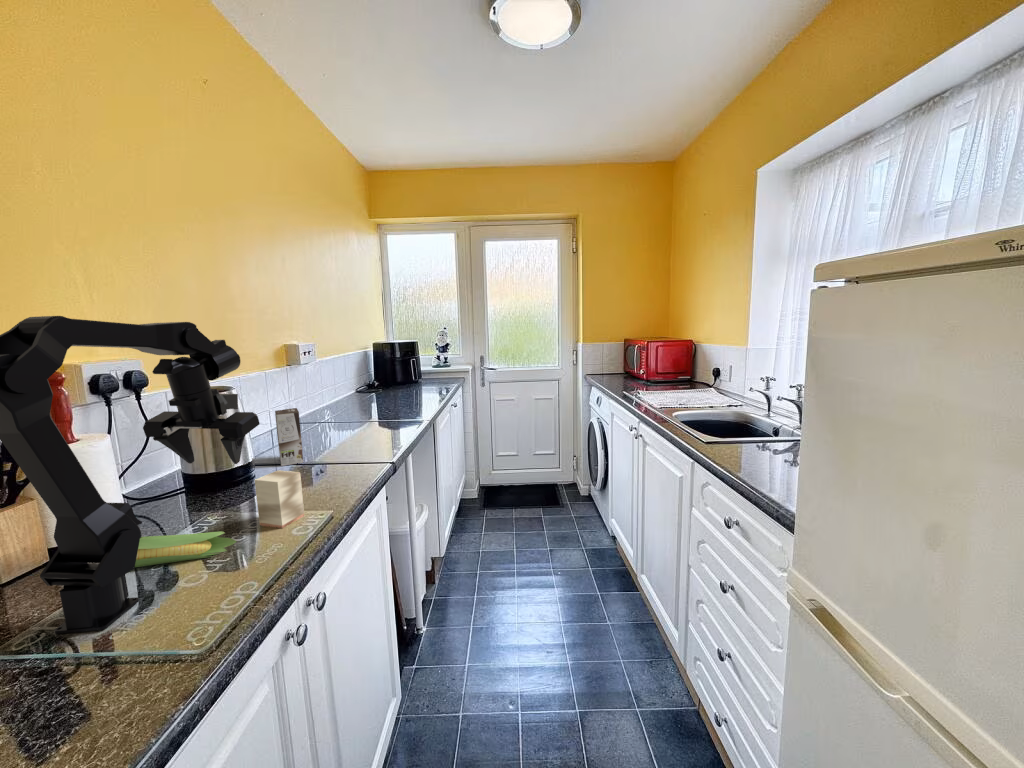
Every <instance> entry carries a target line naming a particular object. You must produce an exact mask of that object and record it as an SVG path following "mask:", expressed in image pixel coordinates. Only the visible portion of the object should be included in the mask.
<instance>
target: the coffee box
mask: <svg viewBox="0 0 1024 768" xmlns="http://www.w3.org/2000/svg"><path fill="white" fill-rule="evenodd" d="M274 413H275V414H274V415H275V425H276V433H277V436H276V437H277V443H278V453H279V459H280V461H279V462H280V466H281V467H285V466H289V465H290V466H291V465H297V463H298V464H303V463H304V454H303V441H302V433H301V431H302V430H301V422H300V421H301V420H300V411H299V410H298V408H297V407H293V408H286V409H279V410H275V411H274Z"/></svg>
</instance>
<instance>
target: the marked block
mask: <svg viewBox="0 0 1024 768" xmlns="http://www.w3.org/2000/svg"><path fill="white" fill-rule="evenodd" d="M301 476H302V475H301V471H290V470H280V469H278V470H275V471H273V472H270V473H268V474H265V475H263V476H261V477H257V478H256V479H254V487H255V496H256V504H257V513H258V514H257V515H258V521H259V526H263V527H269V526H270V528H276V527H278V529H284V528H286V527H287V525H288V526H289V525H291V524H293V523H295V522H297V521H298V520H299V519H302V518H303V517H305V506H304V497H303V489H302V488H303V487H302V486H303V485H302V480H301V479H302V478H301ZM294 521H295V522H294ZM292 522H293V523H292Z"/></svg>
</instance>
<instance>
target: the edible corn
mask: <svg viewBox="0 0 1024 768" xmlns="http://www.w3.org/2000/svg"><path fill="white" fill-rule="evenodd" d="M223 534H226V532H224V531H221V530H220V531H211V532H201V533H199V532H196V533H187V534H171V535H170V534H169V535H151V536H149V535H147V536H145V535H144V536H141V538H140V541H139V547H138V552H137V557H136V563H135V568H141V567H148V566H155V565H161V564H162V565H163V564H171V563H176V562H177V563H178V562H183V561H193V560H201V559H208V558H210V556H212V555H213V556H215V554H217V553H222V552H228V550H227V549H226V548H227V547H230V546H233V545H234V544H236V543H237V540H235V539H234V538H230V537H223V536H221V535H223Z"/></svg>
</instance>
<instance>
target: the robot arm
mask: <svg viewBox="0 0 1024 768" xmlns="http://www.w3.org/2000/svg"><path fill="white" fill-rule="evenodd" d="M71 347H82V348H83V347H88V348H89V347H91V348H118V349H119V348H121V349H125V348H126V349H134V350H137V351H139V352H141V353H145V354H146V353H147V354H150V355H151V354H152V355H155V356H179V357H177V358H174V359H173V358H160V359H159V362H158V363H157V365H156V366H155V367H154V368H153V369H152V374H154V375H165V376H166V379H167V381H168V384H169V388H170V390H171V393H172V396H173V398H171V399H169V400H168V403H169V406H170V407H176V408H177V411H171V410H170V411H167V410H165V411H163V412H161V413H159V414H156V415H155V416H153V417H151V418H149V419H148V420H146V421H144V424H143V426H142V429H143V431H144V432H143V433H144V436H145V437H146V438H152V440H154V441H155V442H156V441H157V442H159V443H161V444H162V445H163V446H165V447H166V448H168V449H169V450H170V451H172V452H173V453H175V454H176V455H177V456H178V457H180V458H181V459H182V460H184V461H185V463H187V464H193V463H194V462H195V454H194V451H193V448H192V443H191V441H190V437H189V432H190V429H196V430H197V429H199V430H200V429H201V430H202V429H203V430H204V429H208V430H209V429H211V430H212V429H213V430H214V429H215V430H218V432H219V435H220V436H222V437H221V438H220V439H219V440H220V441H221V444H222V445H223V447H224V449H225V451H226V453H227V455H228V456H229V458H230V460H231V461H232V463H233V464H234V465H237V464H239V463H240V461H241V455H242V452H243V451H242V450H243V444H244V440H245V437H246V435H247V434H248V433H250V432H251V431H252V430H254V429H255V428H256V427H258V426H259V425H260V424H261V423H260V420H259V416H258V415H257V414H256V413H255V412H253V411H252V412H251V411H249V412H248V411H235V412H234V413H232V414H231V415H229V416H228V417H226V418H220V416H223V415H226V414H227V413H228V411H227V410H238V409H239V398H238V397H239V395H238V393H220V391H219V390H218V389H217V388H212V387H211V384H210V383H211V382H210V381H216V380H218V379H220V378H222V377H224V376H226V375H228V374H230V373H232V372H234V371H236V370H237V369H238V368H239V367H240V366H241V362H242V361H241V356H240V354H238V352H237V350H235V349H234V348H233V347H231V346H230V345H227V343H226V339H214V340H210V339H209V338H208V337H207V336H205V335H204V334H203V333H202V332H201V330H199V328H197V324H195V323H193V322H191V321H175V322H174V321H173V322H172V321H171V322H170V321H169V322H167V321H166V322H149V323H140V324H137V323H127V322H125V323H124V322H114V321H102V320H89V319H77V318H69V317H66V316H63V315H44V316H43V315H42V316H41V315H40V316H29V317H26V318H23V320H21V321H19V322H17V323H16V324H15V325H14V326H13V327H11V328H10V329H9V330H7V331H5V332H3V333H1V334H0V442H1V443H2V445H3V446H4V447H5V448H6V450H7V452H8V453H9V454H10V456H11V458H12V459H13V460H14V461H15V463H16V465H17V466H18V467H19V468H20V470H21V471H22V472H23V474H24V475H25V477H26V478H27V479H28V481H29V482H30V484H31V485H32V486H33V487H34V489H35V490H36V492H37V493H38V495H39V497H40V498H41V500H42V501H43V502H44V503H45V505H46V506H47V507H48V508H49V510H50V512H51V513H52V514H53V516H54V517H55V520H56V523H55V527H54V532H53V539H54V541H55V543H56V546H57V550H55V552H54V553H53V555H52V557H51V558H50V560H49V561H48V563H46V565H45V567H44V568H43V570H42V572H41V573H40V574H39V578H40V579H41V580H42V581H43V582H44V584H45V586H48V587H50V586H51V587H52V586H62V587H63V588H62V589H60V590H59V595H60V596H59V597H60V600H61V606H62V612H63V617H64V622H63V623H62V624H60V625H58V627H56V628H55V629H54V630H53V632H54V634H55V635H57V634H69V633H70V634H71V633H82V632H83V633H84V632H92V631H102V630H105V629H107V628H108V627H109V626H110V625H112V624H113V623H114V622H116V621H117V620H118V619H120V618H121V617H122V616H123V615H124V614H125V613H126V612H128V611H129V610H130V609H132V607H134V606H135V605H136V604H137V603H138V602H140V598H139V596H138V597H129V589H128V584H127V583H128V582H127V578H126V574H128V573H130V572H131V571H133V570H134V569H135V568H136V567H135V563H136V557H137V552H138V547H139V541H140V538H141V537H142V531H141V528H140V525H142V524H143V521H141V520H140V519H138V517H137V516H136V515H135V513H134V510H133V507H132V506H131V505H130V504H129V503H128V502H106V501H105V500H104V499H103V498H102V496H101V494H100V492H99V491H98V489H97V488H96V486H95V484H94V483H93V482H92V480H91V478H90V476H88V474H87V472H86V471H85V469H84V467H83V466H82V465H81V462H80V461H79V459H78V458H77V456H76V455H75V453H74V452H73V450H72V448H71V447H70V446H69V444H68V442H67V441H66V439H65V437H64V436H63V434H62V433H61V431H60V430H59V427H58V426H57V424H56V423H55V421H54V420H53V419H52V416H51V408H52V402H53V398H54V392H53V390H52V388H51V387H52V386H51V385H50V382H49V380H48V379H50V378H51V376H53V375H54V374H55V373H56V372H57V371H59V369H60V368H61V367H62V365H63V364H64V361H65V358H66V355H67V352H68V350H69V349H70V348H71Z"/></svg>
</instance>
